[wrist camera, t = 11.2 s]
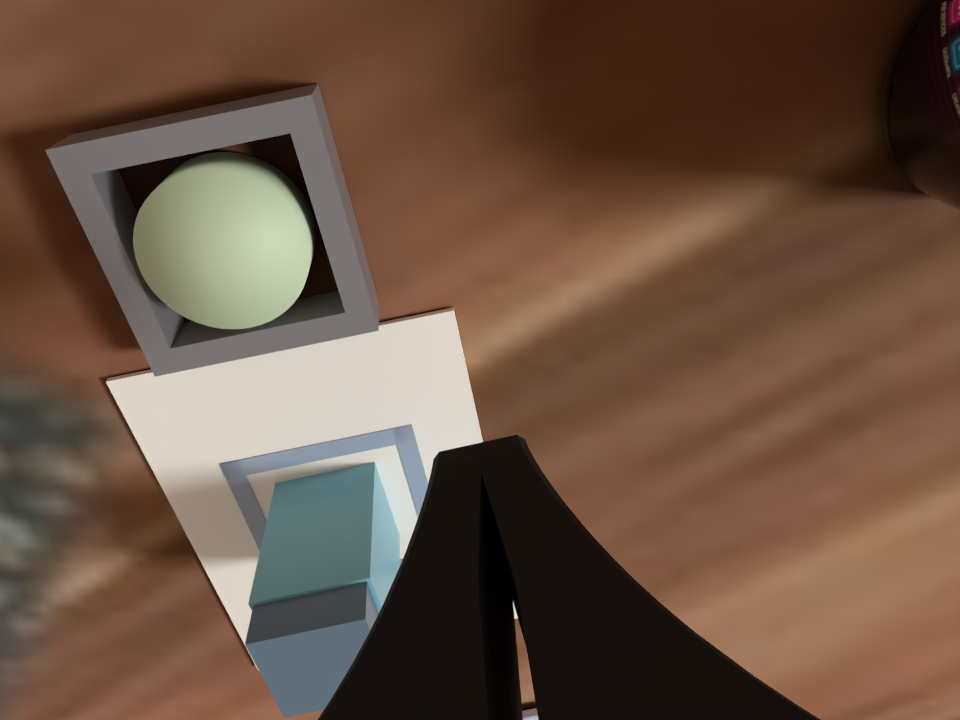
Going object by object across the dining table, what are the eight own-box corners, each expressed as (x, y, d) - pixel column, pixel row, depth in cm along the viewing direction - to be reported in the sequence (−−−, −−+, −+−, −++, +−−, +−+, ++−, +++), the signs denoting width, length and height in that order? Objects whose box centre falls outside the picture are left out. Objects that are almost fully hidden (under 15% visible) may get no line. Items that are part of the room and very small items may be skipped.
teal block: (399, 535, 24) (400, 695, 19) (306, 555, 24) (282, 720, 19) (374, 461, 23) (368, 615, 18) (275, 483, 23) (238, 642, 18)
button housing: (379, 306, 20) (378, 330, 19) (170, 348, 20) (154, 376, 19) (317, 83, 17) (311, 94, 16) (71, 134, 17) (44, 150, 16)
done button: (334, 285, 20) (329, 311, 18) (189, 315, 20) (173, 343, 18) (288, 137, 17) (278, 153, 16) (126, 170, 17) (103, 189, 16)
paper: (520, 613, 27) (521, 618, 27) (259, 666, 27) (258, 672, 27) (453, 307, 20) (453, 311, 20) (108, 378, 21) (104, 382, 20)
